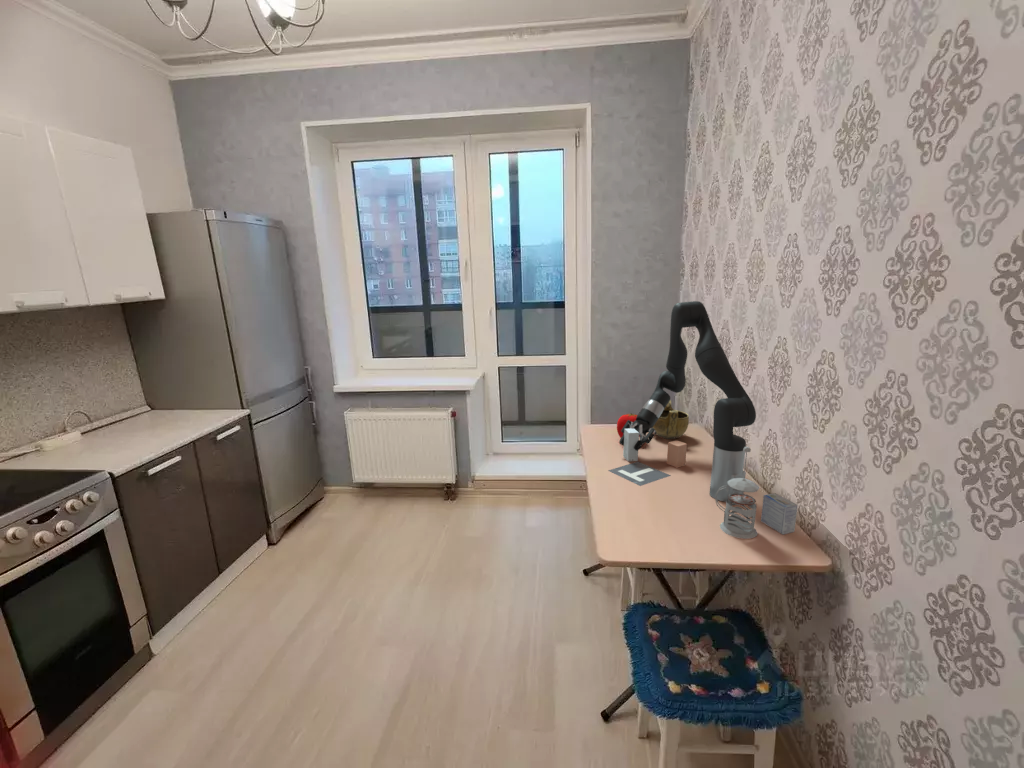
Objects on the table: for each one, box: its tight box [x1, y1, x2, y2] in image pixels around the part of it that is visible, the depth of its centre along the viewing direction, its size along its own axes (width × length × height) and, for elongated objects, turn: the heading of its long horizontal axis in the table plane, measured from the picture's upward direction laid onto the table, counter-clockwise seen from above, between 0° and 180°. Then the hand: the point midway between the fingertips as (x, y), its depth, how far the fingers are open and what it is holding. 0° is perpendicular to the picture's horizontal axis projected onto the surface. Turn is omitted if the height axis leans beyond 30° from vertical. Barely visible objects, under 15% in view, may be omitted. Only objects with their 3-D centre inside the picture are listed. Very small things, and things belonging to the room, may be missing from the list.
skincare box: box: [622, 428, 640, 462], centre depth 185 cm, size 6×4×12 cm
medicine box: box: [760, 492, 798, 535], centre depth 134 cm, size 8×4×9 cm, turn 17°
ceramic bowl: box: [652, 399, 690, 440], centre depth 210 cm, size 22×17×15 cm
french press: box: [714, 446, 760, 540], centre depth 131 cm, size 10×12×25 cm
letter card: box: [607, 461, 672, 487], centre depth 172 cm, size 16×16×1 cm
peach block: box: [666, 440, 688, 469], centre depth 178 cm, size 5×5×9 cm
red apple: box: [616, 413, 640, 439], centre depth 205 cm, size 11×11×13 cm
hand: (628, 446), depth 184 cm, fingers closed on skincare box, 7 cm apart
